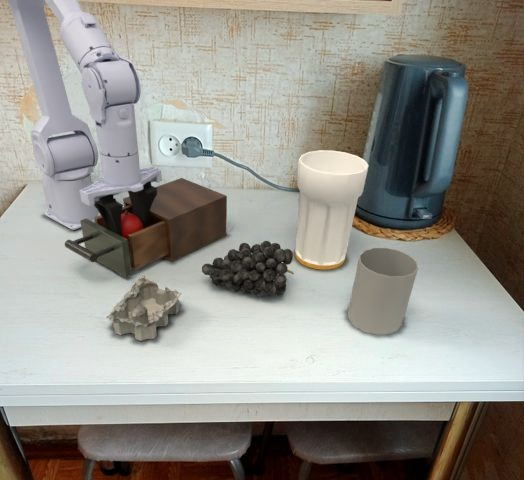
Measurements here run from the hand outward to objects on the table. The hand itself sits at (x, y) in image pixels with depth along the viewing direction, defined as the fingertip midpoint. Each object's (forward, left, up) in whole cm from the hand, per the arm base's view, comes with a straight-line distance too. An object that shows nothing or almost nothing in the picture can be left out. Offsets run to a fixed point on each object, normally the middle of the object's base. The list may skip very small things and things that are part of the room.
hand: (128, 233), depth 86 cm
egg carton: (+16, -10, -5) cm, 19 cm away
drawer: (0, -1, -4) cm, 4 cm away
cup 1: (+24, +24, -5) cm, 34 cm away
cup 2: (+41, +14, -5) cm, 43 cm away
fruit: (+21, +7, -5) cm, 22 cm away
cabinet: (0, +11, -5) cm, 12 cm away
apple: (0, 0, +1) cm, 1 cm away
